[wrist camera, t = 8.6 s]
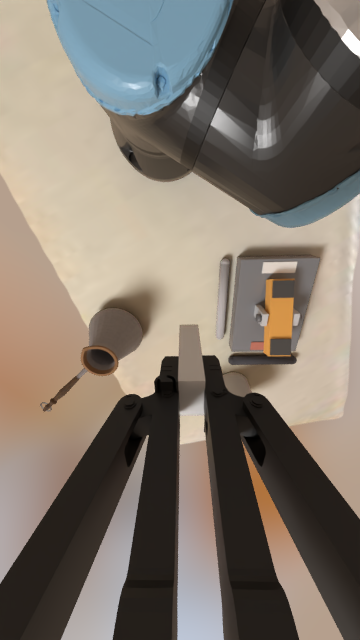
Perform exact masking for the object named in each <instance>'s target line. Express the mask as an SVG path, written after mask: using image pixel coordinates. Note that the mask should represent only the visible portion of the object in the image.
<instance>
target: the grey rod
mask: <svg viewBox="0 0 360 640" xmlns="http://www.w3.org/2000/svg"><path fill="white" fill-rule="evenodd" d="M229 266H230V262H229V260H228V259H226V258H224V259H222V260H221V262H220V273H219V290H218V306H217V322H216V338H217V339H222V338H223V337H224V327H225V315H226V303H227V290H228V278H229Z"/></svg>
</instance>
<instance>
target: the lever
mask: <svg viewBox="0 0 360 640" xmlns="http://www.w3.org/2000/svg"><path fill="white" fill-rule="evenodd" d="M294 283H295V279H269V280H266V296H265V311H266V312H267V313H268V314H269V316H268V321H267V326H264V353H265V354H266V355H267V356H291V340H292V320H293V301H294Z"/></svg>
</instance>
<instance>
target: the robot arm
mask: <svg viewBox="0 0 360 640" xmlns="http://www.w3.org/2000/svg"><path fill="white" fill-rule="evenodd" d="M47 4H48V8H49V11H50V14H51V18H52V21H53V24H54V26H55V29H56V32H57V35H58V37H59V40H60V42H61V44H62V46H63V48H64V50H65V52H66V54H67V56H68V58H69V60H70V61H71V63H72V65H73V67H74V69H75V72H76V74H77V76H78V77H79V78H80V80H81V82H82V84H83V86H85V87H86V89H87V91H88V93H89V94H90V95H91V96H92V97H94V98H95V99H96V101H97V102H98V103H99V104H100V105H101V107H102V108H103V109H104V111H105V112H106V113H107V114H108V116H109V117H110V121H111V126H112V130H113V134H114V137H115V139H116V142H117V144H118V146H119V148H120V150H121V152H122V153H123V155H124V157H125V158H126V159H127V161H128V162H129V163H130V164H131V165H132V166H133V167H134V168H135V169H136V170H137V171H138V172H140V173H141V174H142V175H144V176H146V177H148V178H150V179H152V180H156V181H161V182H170V181H175V180H179V179H181V178H183V177H185V176H187V175H188V174H190V173H191V172H193V173H195V174H197V175H198V176H200V177H201V178H203V179H204V180H206V181H207V182H209V183H211V184H212V185H214V186H215V187H217V188H218V189H220V190H221V191H223V192H225V193H226V194H228V195H229V196H231V197H232V198H234V199H235V200H237V201H239V202H240V203H242V204H243V205H245V206H246V207H248V208H249V209H250V211H251V212H252V213H253V214H255V215H256V216H260V217H262V218H266V219H268V220H270V221H271V222H273V223H275V224H277V225H279V226H282V227H287V228H294V227H300V226H304V225H308V224H311V223H313V222H316V221H318V220H320V219H322V218H324V217H326V216H328V215H329V214H331V213H333V212H335V211H336V210H338V209H339V208H341V207H342V206H344V205H345V204H347V203H348V202H349V201H351V200H352V199H353V198H355V197H356V196H357V195H358V194H360V0H47ZM154 384H155V393H154V394H152V395H150V396H148V397H144V398H140V396H138V395H136V394H129V395H126V396H124V397H122V398H121V399H120V400H119V401H118V403H117V405H116V406H115V408H114V410H113V411H112V412H111V414H110V416H109V417H108V418H107V420H106V422H105V423H104V425H103V426H102V428H101V429H100V431H99V432H98V434H97V435H96V437H95V439H94V440H93V442H92V443H91V445H90V446H89V448H88V450H87V451H86V452H85V454H84V455H83V457H82V459H81V460H80V462H79V463H78V465H77V466H76V468H75V470H74V471H73V472H72V474H71V476H70V477H69V479H68V480H67V482H66V483H65V485H64V486H63V488H62V489H61V491H60V493H59V494H58V496H57V497H56V499H55V500H54V502H53V503H52V505H51V506H50V508H49V509H48V511H47V513H46V514H45V516H44V517H43V519H42V520H41V522H40V523H39V525H38V526H37V528H36V530H35V531H34V533H33V534H32V536H31V537H30V539H29V541H28V542H27V543H26V545H25V547H24V548H23V550H22V551H21V553H20V555H19V556H18V557H17V559H16V560H15V562H14V563H13V565H12V567H11V568H10V570H9V571H8V573H7V574H6V576H5V577H4V579H3V580H2V582H1V584H0V640H61V637H62V635H63V633H64V630H65V628H66V626H67V623H68V621H69V619H70V616H71V614H72V611H73V609H74V607H75V604H76V602H77V599H78V597H79V595H80V592H81V590H82V588H83V585H84V583H85V580H86V578H87V576H88V573H89V571H90V569H91V566H92V564H93V562H94V559H95V557H96V554H97V552H98V550H99V547H100V545H101V543H102V540H103V538H104V536H105V533H106V531H107V528H108V526H109V524H110V521H111V519H112V516H113V514H114V512H115V509H116V507H117V505H118V502H119V500H120V498H121V495H122V493H123V490H124V488H125V486H126V483H127V481H128V479H129V476H130V474H131V471H132V469H133V467H134V464H135V462H136V460H137V457H138V455H139V452H140V450H141V448H142V445H143V443H144V441H145V438H146V436H147V435H149V438H148V444H147V451H146V457H145V465H144V470H143V477H142V483H141V491H140V496H139V503H138V510H137V516H136V523H135V529H134V536H133V542H132V548H131V555H130V562H129V568H128V573H127V578H126V581H125V583H124V586H123V588H122V592H121V596H120V601H119V606H118V612H117V617H116V623H115V629H114V635H113V640H177V583H178V514H179V511H178V509H179V507H178V506H179V443H180V415H204V416H205V422H204V432H205V435H206V444H207V455H208V465H209V475H210V485H211V496H212V505H213V516H214V526H215V536H216V547H217V557H218V567H219V577H220V587H221V597H222V614H223V633H224V640H299V637H298V633H297V630H296V626H295V622H294V619H293V615H292V612H291V608H290V605H289V602H288V599H287V597H286V594H285V592H284V590H283V588H282V586H281V585H280V583H279V582H278V579H277V576H276V573H275V570H274V566H273V562H272V558H271V554H270V550H269V546H268V542H267V538H266V534H265V530H264V526H263V523H262V519H261V515H260V511H259V507H258V503H257V499H256V495H255V491H254V488H253V484H252V480H251V476H250V472H249V468H248V464H247V460H246V456H245V453H244V448H243V444H244V445H245V447H246V449H247V451H248V453H249V455H250V457H251V459H252V461H253V463H254V465H255V467H256V469H257V471H258V473H259V475H260V477H261V479H262V480H263V482H264V484H265V486H266V488H267V490H268V492H269V494H270V496H271V498H272V500H273V502H274V504H275V506H276V508H277V510H278V512H279V514H280V516H281V518H282V520H283V522H284V524H285V525H286V527H287V529H288V531H289V533H290V535H291V537H292V539H293V541H294V543H295V545H296V547H297V549H298V551H299V552H300V555H301V557H302V559H303V561H304V563H305V564H306V566H307V568H308V570H309V572H310V574H311V576H312V578H313V580H314V582H315V584H316V586H317V588H318V590H319V592H320V594H321V596H322V598H323V600H324V602H325V603H326V605H327V607H328V609H329V611H330V613H331V615H332V617H333V619H334V621H335V623H336V625H337V627H338V628H339V631H340V633H341V635H342V637H343V639H344V640H360V519H359V518H358V516H357V515H356V514H355V513H354V511H353V510H352V509H351V507H350V506H349V505H348V503H347V502H346V501H345V500H344V498H343V497H342V496H341V494H340V493H339V492H338V490H337V489H336V488H335V486H333V484H332V483H331V481H330V480H329V479H328V477H327V476H326V475H325V474H324V472H323V471H322V470H321V468H320V467H319V466H318V464H317V463H316V462H315V461H314V459H313V458H312V457H311V455H310V454H309V453H308V451H307V450H306V449H305V448H304V446H303V445H302V444H301V442H300V441H299V440H298V438H297V437H296V436H295V434H294V433H293V432H292V431H291V429H290V428H289V427H288V425H287V424H286V423H285V421H284V420H283V419H282V418H281V416H280V415H279V414H278V412H277V411H276V410H275V408H274V407H273V406H272V405H271V403H270V402H269V401H268V399H267V398H265V397H264V396H263V395H261V394H258V393H249V394H246V396H245V397H241V396H237V395H234V394H232V393H231V392H229V391H228V389H227V388H226V386H225V383H224V379H223V375H222V371H221V367H220V363H219V360H218V358H217V357H216V356H215V355H213V356H202V352H201V344H200V337H199V329H198V325H180V334H179V356H167V357H165V358H164V359H163V360H162V364H161V371H160V376H158V377H157V378H156V379H155V381H154ZM242 442H243V444H242Z"/></svg>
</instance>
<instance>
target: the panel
mask: <svg viewBox="0 0 360 640" xmlns="http://www.w3.org/2000/svg"><path fill="white" fill-rule="evenodd" d="M319 261H320V258H319V257H315V256H312V255H298V256H253V257H237V267H236V277H235V288H234V298H233V308H232V319H231V329H230V339H229V346H230V348H231V351H232V352H244V351H264V326H267V321H268V316H269V314H268V313H267V312H266V311H265V296H266V280H269V279H295V283H294V301H293V320H292V340H291V351H295V350H296V346H297V343H298V339H299V335H300V332H301V328H302V324H303V321H304V317H305V313H306V310H307V306H308V302H309V298H310V295H311V291H312V287H313V284H314V280H315V276H316V273H317V269H318V265H319Z"/></svg>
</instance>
